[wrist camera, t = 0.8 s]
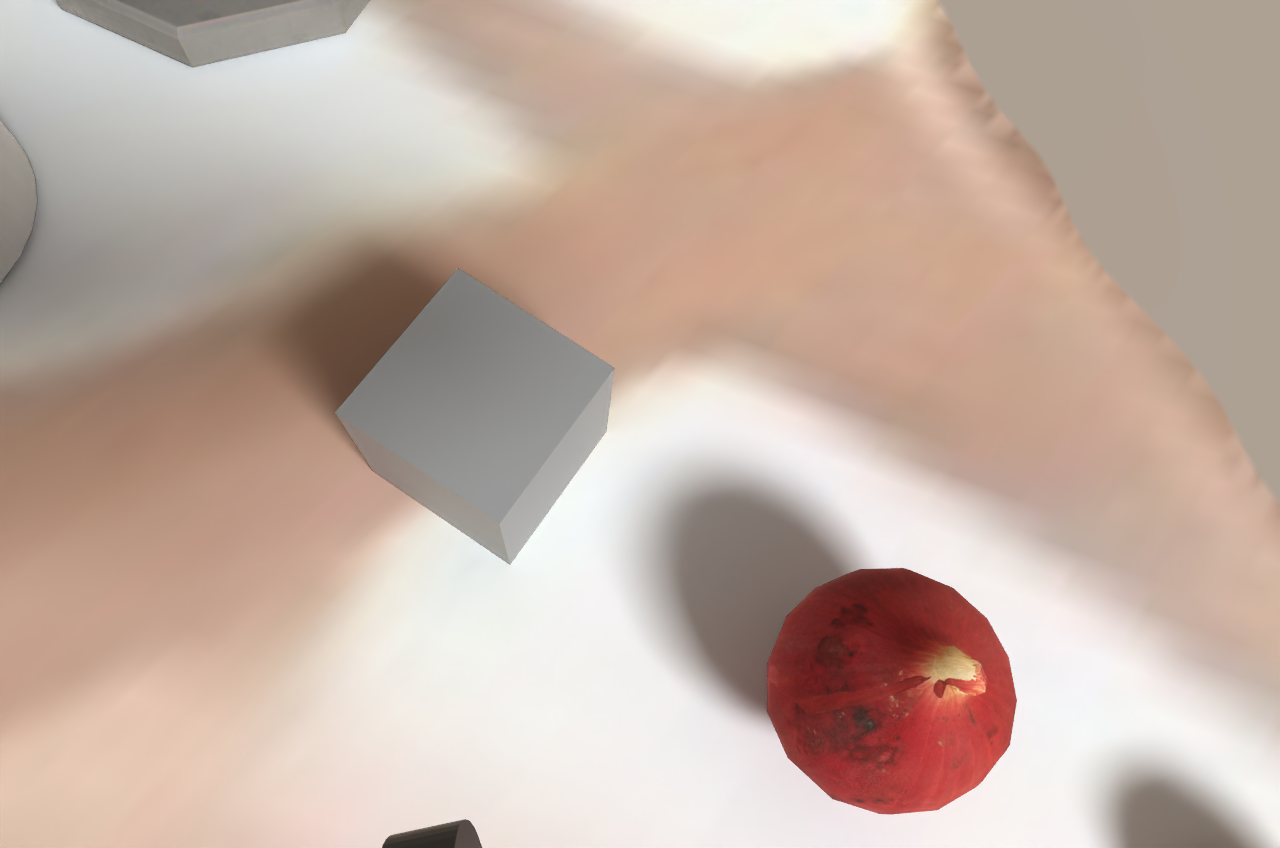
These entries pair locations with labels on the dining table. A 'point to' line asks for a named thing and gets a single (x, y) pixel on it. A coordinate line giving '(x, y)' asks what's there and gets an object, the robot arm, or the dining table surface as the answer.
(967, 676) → the red squash
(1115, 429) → the dining table surface
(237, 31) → the tankard
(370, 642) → the dining table surface
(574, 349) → the grey block
